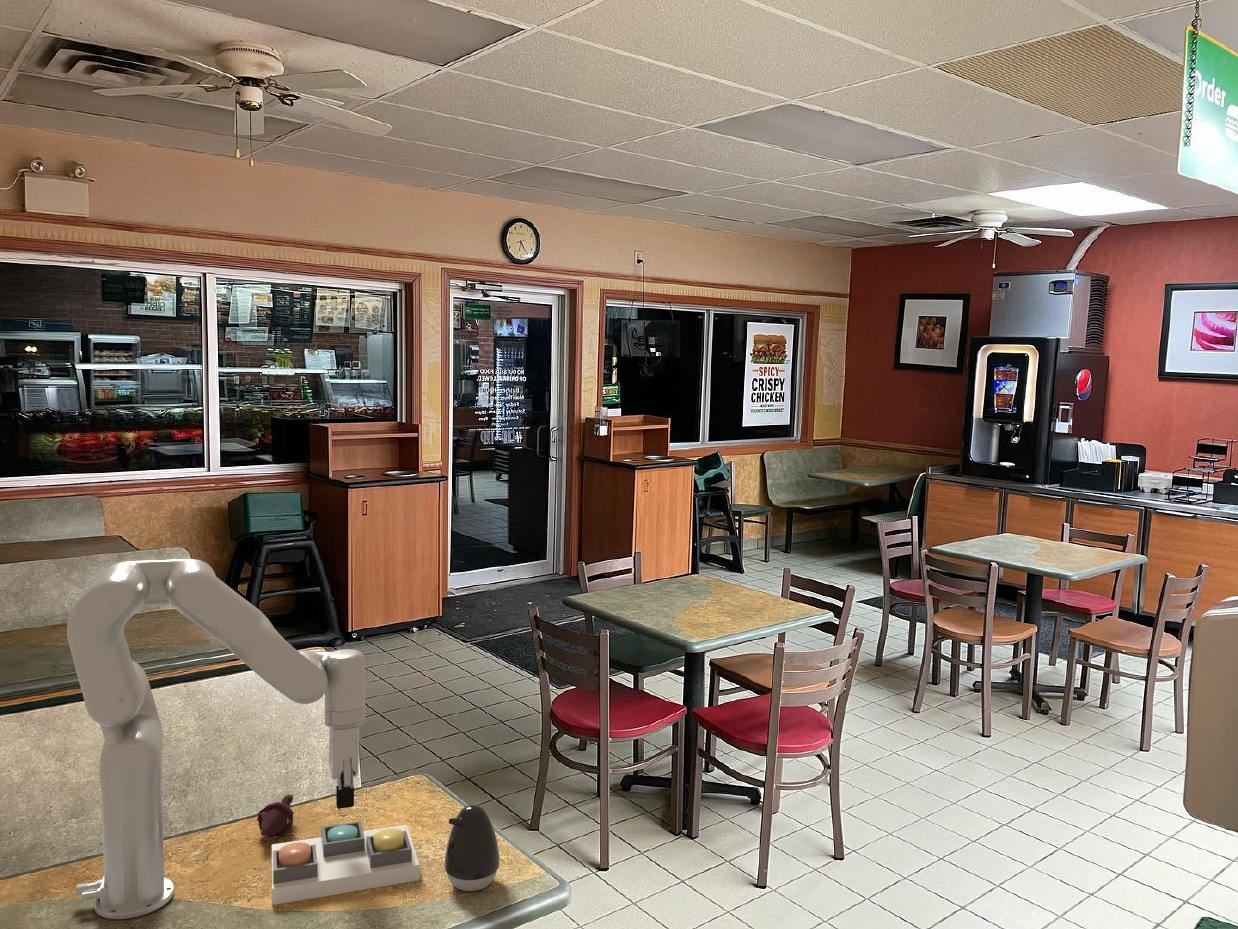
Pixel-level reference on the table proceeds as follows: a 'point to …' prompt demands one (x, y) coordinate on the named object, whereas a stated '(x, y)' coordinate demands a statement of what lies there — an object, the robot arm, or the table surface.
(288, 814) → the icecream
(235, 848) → the table surface
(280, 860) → the button terracotta
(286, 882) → the button panel
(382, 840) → the button ochre
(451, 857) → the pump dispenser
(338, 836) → the button teal
